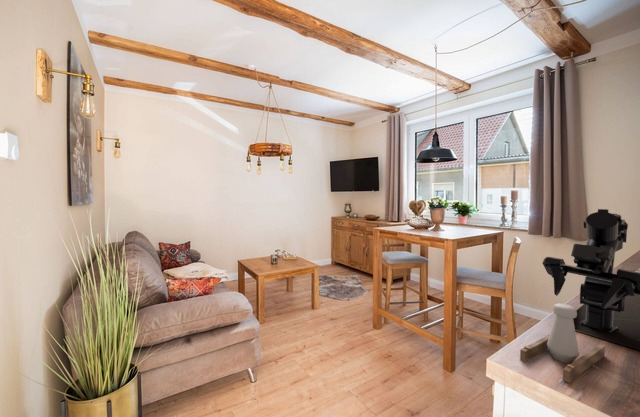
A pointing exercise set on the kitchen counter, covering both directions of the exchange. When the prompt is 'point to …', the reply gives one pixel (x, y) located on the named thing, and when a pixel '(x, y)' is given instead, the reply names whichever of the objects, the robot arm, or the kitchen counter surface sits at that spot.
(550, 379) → the kitchen counter surface
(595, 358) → the pair of wooden rails
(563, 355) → the salt shaker
